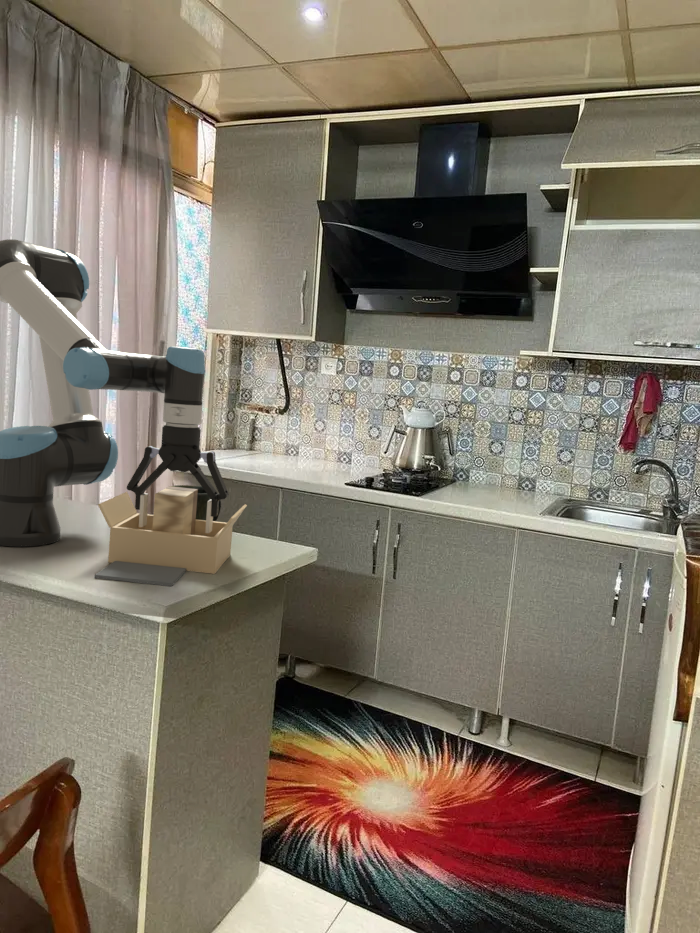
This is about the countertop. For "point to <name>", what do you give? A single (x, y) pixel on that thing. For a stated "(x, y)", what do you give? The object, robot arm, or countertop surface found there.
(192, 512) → the block
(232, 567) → the countertop surface
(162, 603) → the countertop surface
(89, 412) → the robot arm
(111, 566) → the mat
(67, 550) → the countertop surface
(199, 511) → the mug
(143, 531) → the carton
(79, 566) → the countertop surface
